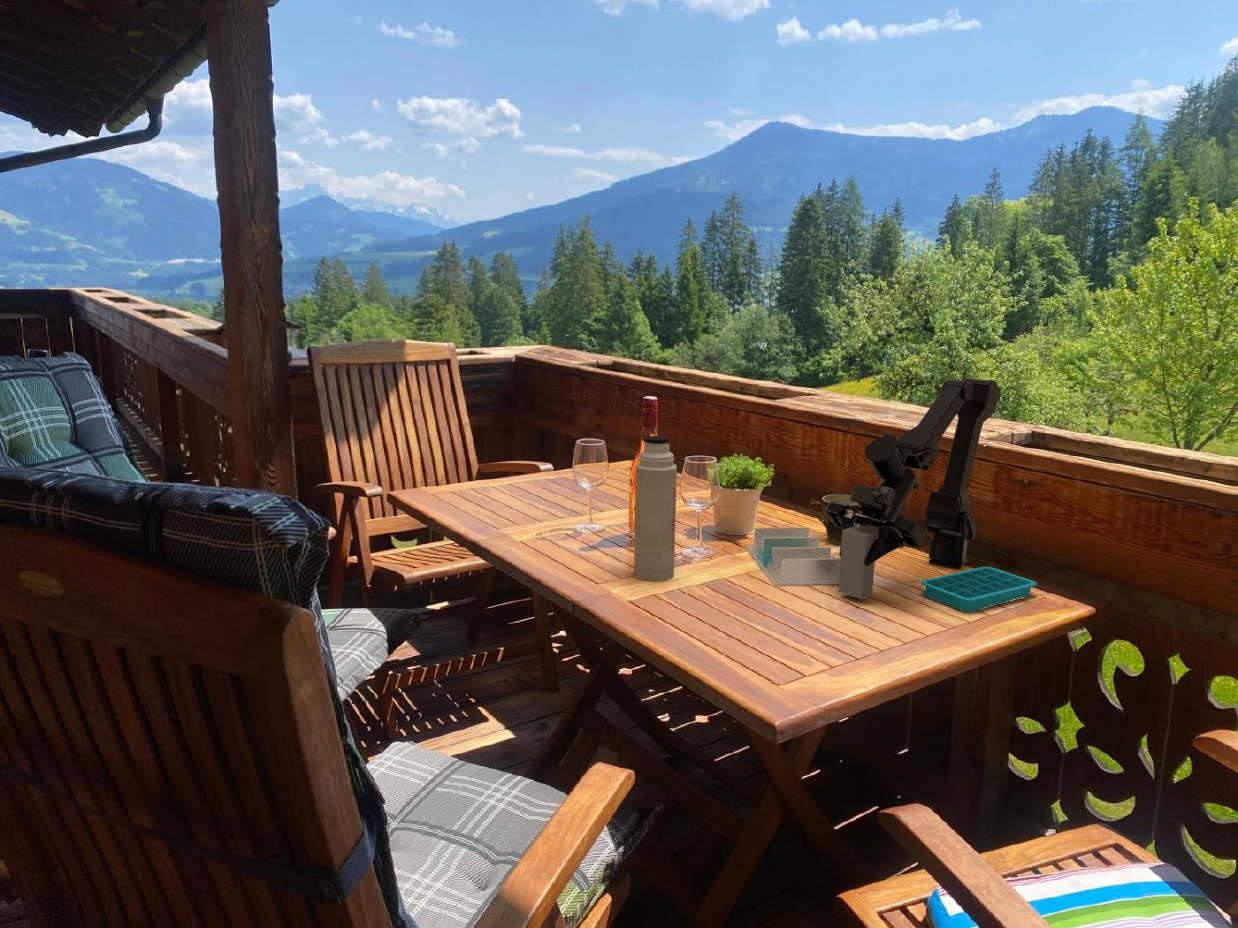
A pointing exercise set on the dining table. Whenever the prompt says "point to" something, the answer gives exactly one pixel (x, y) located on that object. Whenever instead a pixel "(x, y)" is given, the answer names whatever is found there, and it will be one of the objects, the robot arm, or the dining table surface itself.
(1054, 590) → the dining table surface
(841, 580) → the tall gray rectangular box
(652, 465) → the thermos bottle
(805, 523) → the dining table surface
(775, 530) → the tray
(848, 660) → the dining table surface
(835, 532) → the ceramic cup
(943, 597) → the ice cube tray
